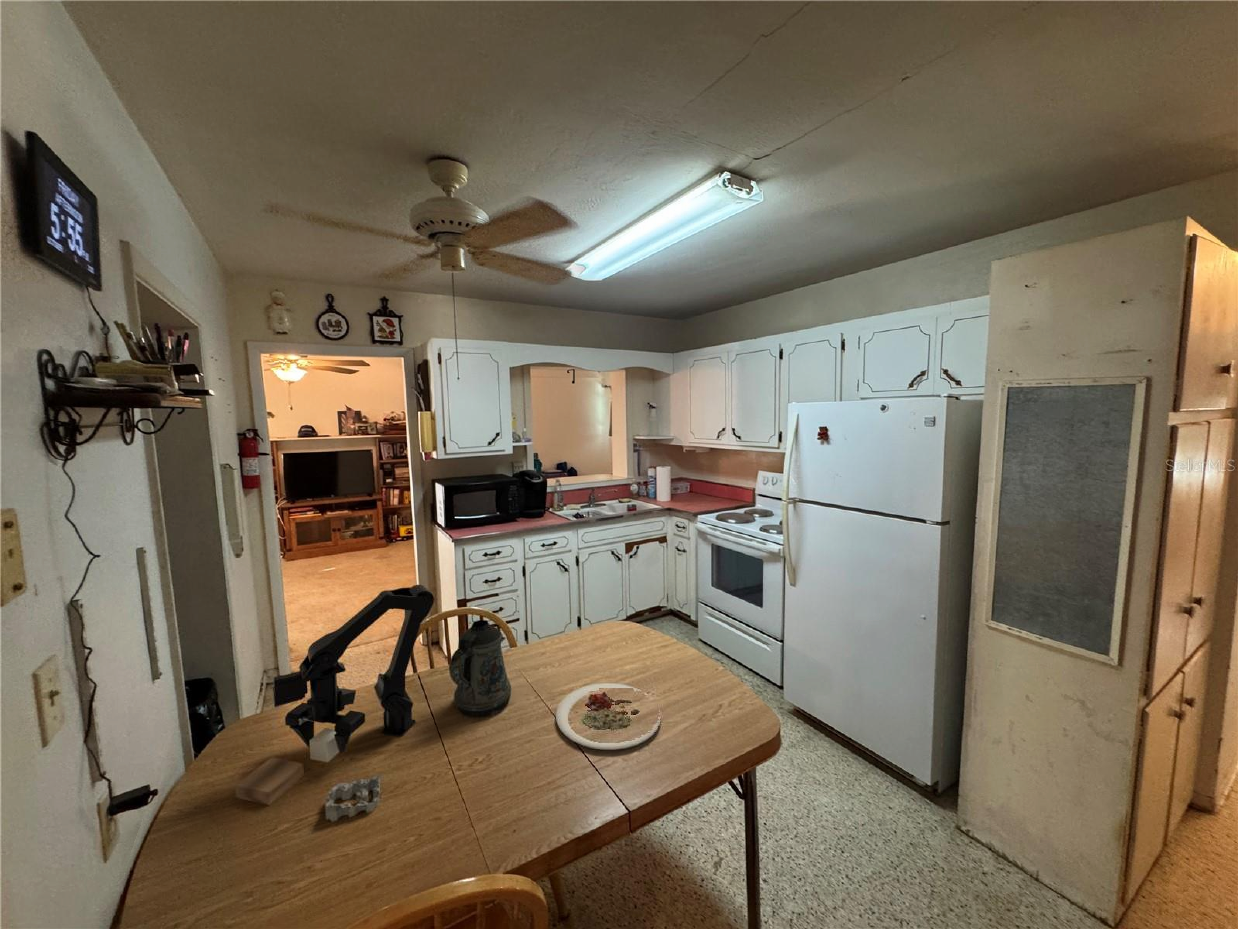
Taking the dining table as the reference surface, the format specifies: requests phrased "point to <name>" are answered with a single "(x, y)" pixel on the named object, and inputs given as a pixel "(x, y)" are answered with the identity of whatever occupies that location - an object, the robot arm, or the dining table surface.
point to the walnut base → (269, 781)
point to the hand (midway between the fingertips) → (326, 749)
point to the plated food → (599, 716)
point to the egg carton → (347, 791)
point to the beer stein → (480, 672)
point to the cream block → (324, 745)
